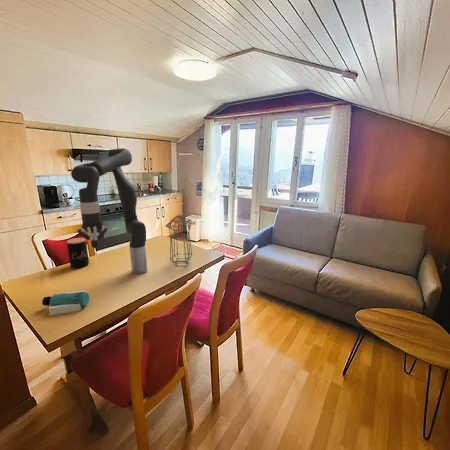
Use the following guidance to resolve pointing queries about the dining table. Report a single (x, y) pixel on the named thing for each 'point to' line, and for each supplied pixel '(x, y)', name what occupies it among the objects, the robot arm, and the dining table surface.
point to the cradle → (66, 306)
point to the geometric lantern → (178, 236)
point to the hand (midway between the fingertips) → (95, 247)
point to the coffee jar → (77, 253)
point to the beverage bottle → (66, 299)
